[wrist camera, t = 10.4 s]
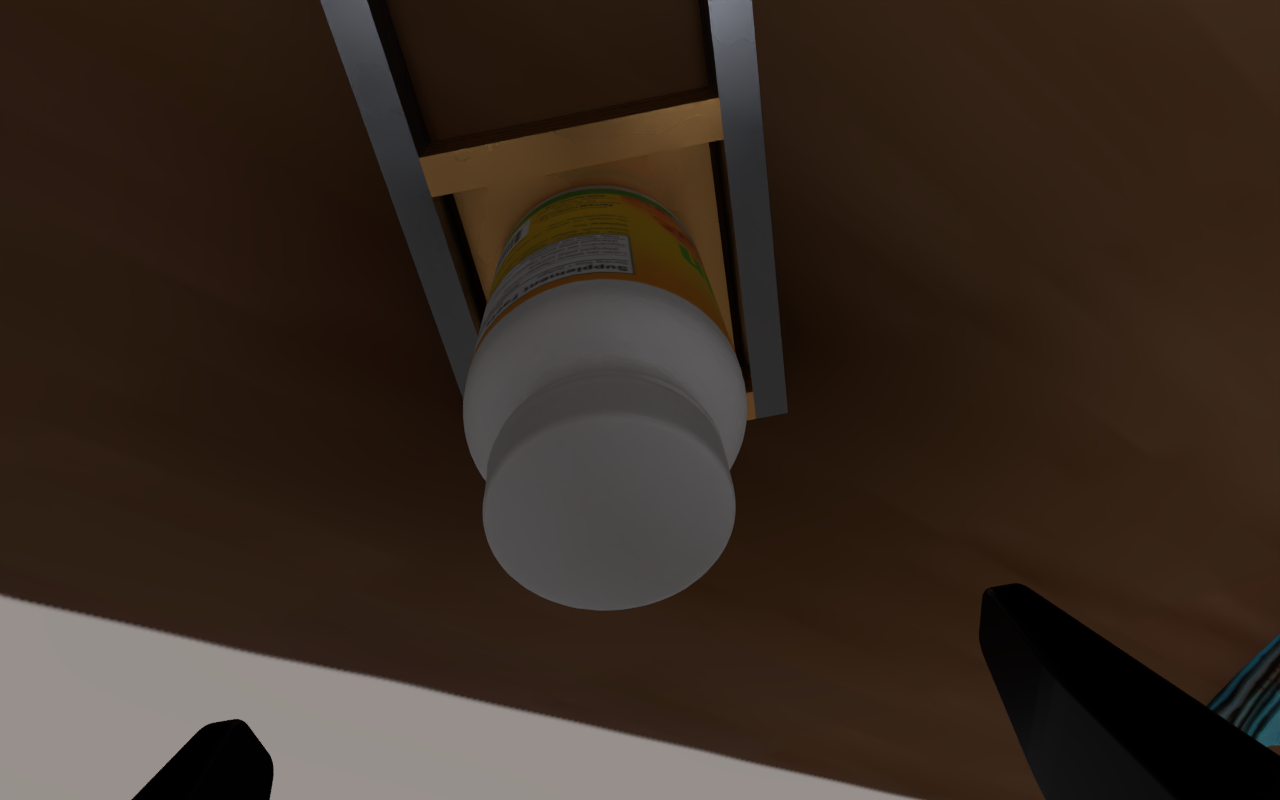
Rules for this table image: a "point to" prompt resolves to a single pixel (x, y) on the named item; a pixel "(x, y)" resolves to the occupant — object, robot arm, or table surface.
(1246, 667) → the dish towel
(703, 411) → the supplement bottle
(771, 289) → the divided tray
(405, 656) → the table surface
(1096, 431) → the table surface
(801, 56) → the table surface
